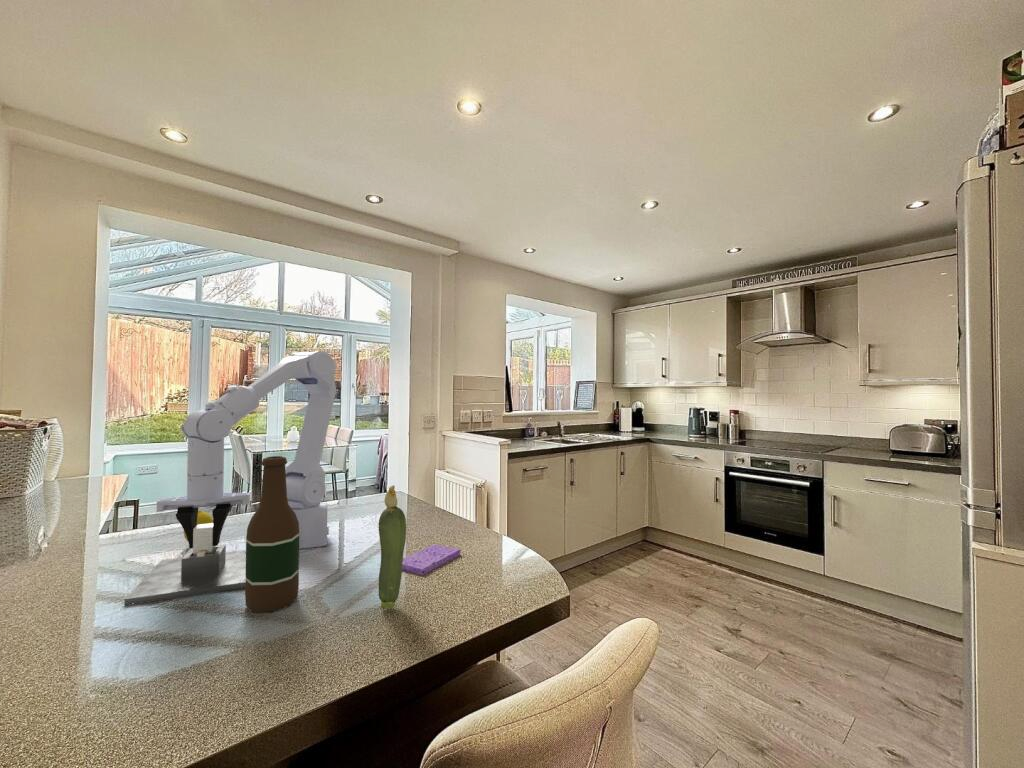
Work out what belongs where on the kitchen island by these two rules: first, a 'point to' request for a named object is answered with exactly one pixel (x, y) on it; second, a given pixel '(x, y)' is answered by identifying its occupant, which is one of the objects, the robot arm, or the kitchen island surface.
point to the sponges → (429, 559)
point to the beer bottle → (272, 545)
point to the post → (203, 539)
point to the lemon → (202, 519)
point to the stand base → (192, 576)
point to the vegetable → (391, 550)
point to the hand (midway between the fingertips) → (204, 545)
